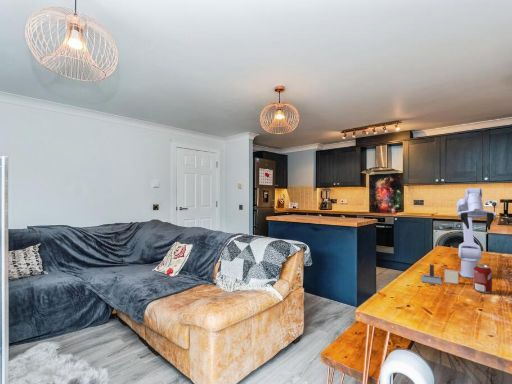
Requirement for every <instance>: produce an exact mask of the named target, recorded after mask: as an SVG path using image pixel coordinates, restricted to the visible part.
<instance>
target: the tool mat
mask: <svg viewBox="0 0 512 384" xmlns="http://www.w3.org/2000/svg"><path fill="white" fill-rule="evenodd" d="M419 278H420V280H421V283H422V284H423V283H424V284H429V285H430V284H431V285H438V286H443V282H442V279H437V278H430V277H423V275H422V276H421V275H420V277H419Z"/></svg>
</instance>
